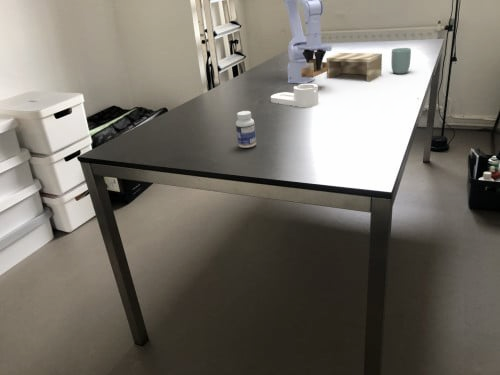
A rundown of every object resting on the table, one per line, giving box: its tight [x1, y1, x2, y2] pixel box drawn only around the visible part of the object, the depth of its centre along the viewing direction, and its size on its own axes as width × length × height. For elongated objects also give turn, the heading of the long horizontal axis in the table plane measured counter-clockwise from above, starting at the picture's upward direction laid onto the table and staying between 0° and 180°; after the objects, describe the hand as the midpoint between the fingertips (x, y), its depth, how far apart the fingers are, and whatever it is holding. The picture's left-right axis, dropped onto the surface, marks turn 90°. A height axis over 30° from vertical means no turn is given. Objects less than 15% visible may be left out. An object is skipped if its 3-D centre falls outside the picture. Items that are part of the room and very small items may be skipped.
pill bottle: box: [235, 110, 257, 148], centre depth 128 cm, size 5×5×10 cm
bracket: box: [270, 83, 319, 108], centre depth 166 cm, size 20×9×7 cm, turn 46°
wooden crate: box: [325, 52, 383, 83], centre depth 192 cm, size 20×12×9 cm, turn 51°
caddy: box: [301, 58, 328, 79], centre depth 177 cm, size 5×12×6 cm, turn 141°
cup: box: [390, 47, 412, 75], centre depth 190 cm, size 8×8×10 cm
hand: (314, 69), depth 177 cm, fingers closed on caddy, 3 cm apart
